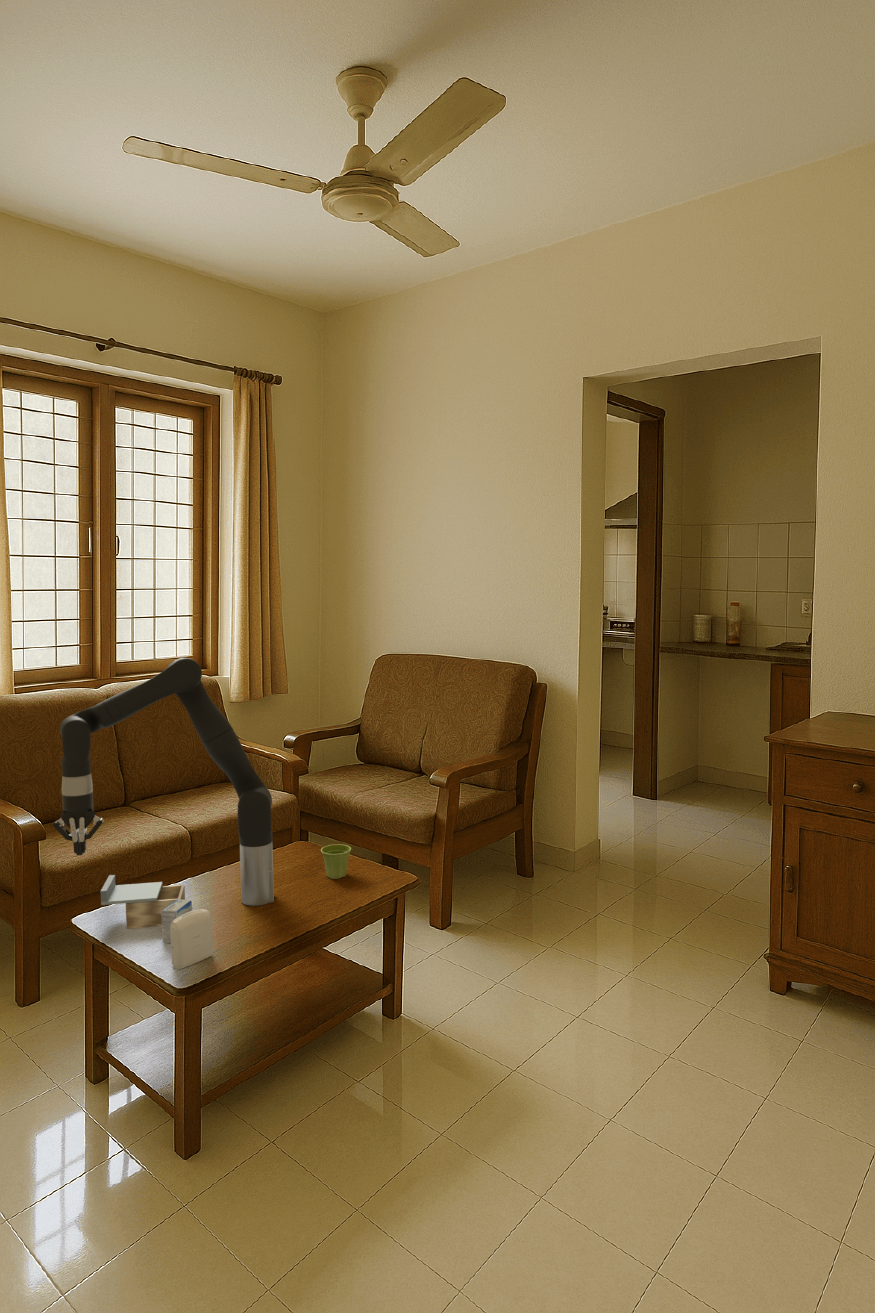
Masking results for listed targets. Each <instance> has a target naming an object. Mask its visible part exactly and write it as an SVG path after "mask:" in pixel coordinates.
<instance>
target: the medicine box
mask: <svg viewBox="0 0 875 1313" xmlns="http://www.w3.org/2000/svg"><path fill="white" fill-rule="evenodd" d="M192 902H193V901H192V900H191V899H185V900H181V899H179V900H176V901H175V902H173V903H172V904H171V905H169V906H168V907H166V908H165V909H164V910H162V911H161V915H162V926H161V930H162V931H161V933H162V934H161V935H162V943H165V944H171V934H170V925H171V923H172V921H174V920H175V919H176V918H178V917H179V916H181V915H183V914H185V913H187V912H190V911H193V903H192Z"/></svg>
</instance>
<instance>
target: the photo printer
mask: <svg viewBox="0 0 875 1313" xmlns="http://www.w3.org/2000/svg"><path fill="white" fill-rule="evenodd" d="M212 926H213V924H212V916H211V913H210V911H209V910H207V909H202V908H200V909H194V910H193V909H192V911H190V912H187V913H185V914H183V915H181V916H179V917H178V918H176V919H175V920H174V921H172V923H171V925H170V934H171V943H170V953H171V954H170V955H171V965H172V967H173V969H175V970H181V969H184V968H187V967H189V966H191V965H195V964H197V963H199V962H201V961H203V960H205V959H208V958H210V957H212V956H213V948H214V947H213V931H212V930H213V929H212V928H213V927H212Z"/></svg>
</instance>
